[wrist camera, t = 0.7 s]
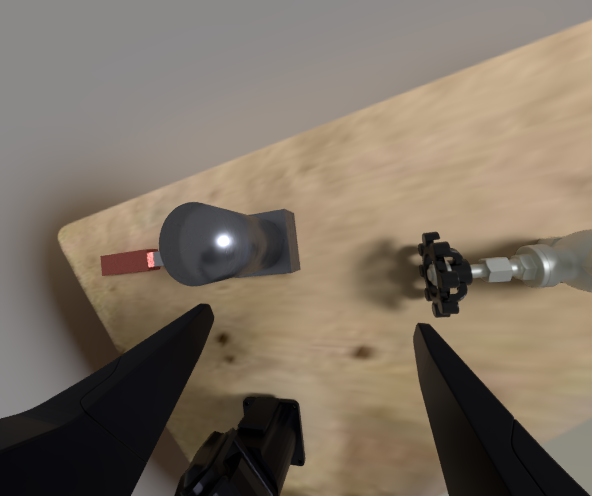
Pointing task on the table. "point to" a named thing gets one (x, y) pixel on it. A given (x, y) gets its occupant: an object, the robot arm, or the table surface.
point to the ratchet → (131, 262)
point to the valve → (504, 268)
